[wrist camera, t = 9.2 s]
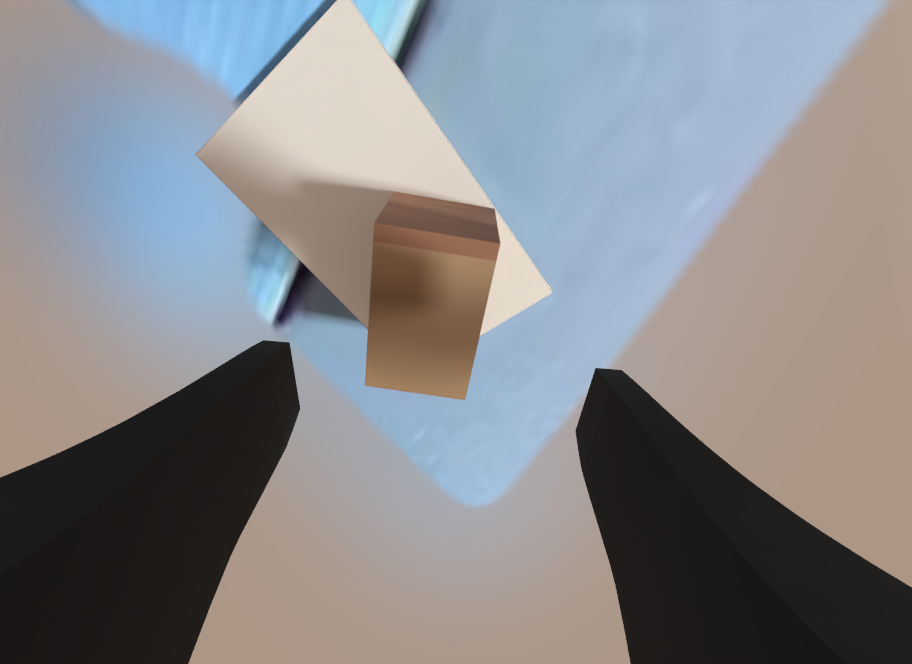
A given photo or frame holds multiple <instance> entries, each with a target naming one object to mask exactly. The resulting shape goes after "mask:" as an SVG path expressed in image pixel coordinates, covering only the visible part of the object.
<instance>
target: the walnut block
mask: <svg viewBox="0 0 912 664" xmlns="http://www.w3.org/2000/svg"><path fill="white" fill-rule="evenodd" d="M499 248H500V238H499V232H498V226H497V220H496V214H495V209H494V208H488V207H482V206H476V205H470V204H464V203H458V202H453V201H447V200H441V199H435V198H429V197H423V196H418V195H412V194H406V193H400V192H394V193H393V195H392V196H391V198H390V199H389V201H388V202H387V204H386V205H385V207H384V208H383V210H382V211H381V213H380V214H379V216H378V218H377V219H376V221H375V222H374V234H373V252H372V270H371V288H370V306H369V324H368V342H367V360H366V378H365V386H371V387H378V388H385V389H392V390H399V391H406V392H413V393H420V394H427V395H434V396H441V397H447V398H454V399H461V400H465V398H466V393H467V389H468V385H469V380H470V376H471V371H472V367H473V362H474V358H475V354H476V349H477V345H478V340H479V336H480V332H481V327H482V323H483V318H484V314H485V310H486V305H487V301H488V296H489V292H490V287H491V283H492V279H493V274H494V270H495V265H496V261H497V257H498V252H499Z"/></svg>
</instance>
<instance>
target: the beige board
mask: <svg viewBox="0 0 912 664" xmlns="http://www.w3.org/2000/svg"><path fill="white" fill-rule="evenodd" d="M196 156H198V158H199V159H200V160H201V161H202V162H203V163H204V164H205V165H206V166H207V167H208V168H209V169H210V170H211V171H212V172H213V173H214V174H215V175H216V176H217V177H218V178H219V179H220V180H221V181H222V182H223V183H224V184H225V185H226V186H227V187H228V188H229V189H230V190H231V191H232V192H233V193H234V194H235V195H236V196H237V197H238V198H239V199H240V200H241V201H242V202H243V203H244V204H245V205H246V206H247V207H248V208H249V209H250V210H251V211H252V212H253V213H254V214H255V215H256V216H257V217H258V218H259V219H260V220H261V221H262V222H263V223H264V224H265V225H266V226H267V227H268V228H269V229H270V230H271V231H272V232H273V233H274V235H275V236H276V237H277V238H278V239H279V240H280V241H281V242H282V243H283V244H284V245H285V246H286V247H287V248H288V249H289V250H290V251H291V252H292V253H293V254H294V255H295V256H296V257H297V258H298V259H299V260H300V261H301V262H302V263H303V264H304V265H305V266H306V267H307V268H308V269H309V270H310V271H311V272H312V273H313V274H314V275H315V276H316V277H317V278H318V279H319V280H320V281H321V282H322V283H323V284H324V285H325V286H326V287H327V288H328V289H329V290H330V291H331V292H332V293H333V294H334V295H335V296H336V297H337V298H338V299H339V300H340V301H341V302H342V303H343V304H344V305H345V306H346V307H347V308H348V309H349V310H350V311H351V312H352V313H353V314H354V315H355V316H356V317H357V318H358V319H359V320H360V321H361V322H362V323H363V324H364V325H365V326H366V327H367V328H368V324H369V306H370V288H371V270H372V252H373V234H374V222H375V221H376V219H377V218H378V216H379V214H380V213H381V211H382V210H383V208H384V207H385V205H386V204H387V202H388V201H389V199H390V198H391V196H392V195H393V193H394V192H400V193H406V194H412V195H418V196H423V197H429V198H435V199H441V200H447V201H453V202H458V203H464V204H470V205H476V206H482V207H488V208H494V209H495V214H496V220H497V226H498V232H499V238H500V248H499V252H498V257H497V261H496V265H495V270H494V274H493V279H492V283H491V287H490V292H489V296H488V301H487V305H486V310H485V314H484V318H483V323H482V327H481V332H480V336H481V335H482V334H484V333H486V332H487V331H489V330H491V329H492V328H494V327H496V326H497V325H499V324H501V323H502V322H504V321H506V320H507V319H509V318H511V317H512V316H514V315H516V314H517V313H519V312H521V311H522V310H524V309H526V308H527V307H529V306H531V305H532V304H534V303H536V302H537V301H539V300H541V299H542V298H544V297H546V296H547V295H549V294H551V293H552V290H551V288H550V286H549V285H548V283H547V282H546V280H545V279H544V277H543V276H542V275H541V273H540V272H539V270H538V269H537V267H536V266H535V264H534V263H533V262H532V260H531V259H530V257H529V256H528V254H527V253H526V251H525V250H524V249H523V247H522V246H521V244H520V243H519V241H518V240H517V238H516V237H515V235H514V234H513V233H512V231H511V230H510V228H509V227H508V225H507V224H506V222H505V221H504V220H503V218H502V217H501V215H500V214H499V212H498V211H497V209H496V208H495V207H494V205H493V204H492V202H491V201H490V199H489V198H488V196H487V195H486V194H485V192H484V191H483V189H482V188H481V186H480V185H479V183H478V182H477V180H476V179H475V178H474V176H473V175H472V173H471V172H470V170H469V169H468V167H467V166H466V165H465V163H464V162H463V160H462V159H461V157H460V156H459V154H458V153H457V152H456V150H455V149H454V147H453V146H452V144H451V143H450V141H449V140H448V138H447V137H446V136H445V134H444V133H443V131H442V130H441V128H440V127H439V125H438V124H437V123H436V121H435V120H434V118H433V117H432V115H431V114H430V112H429V111H428V110H427V108H426V107H425V105H424V104H423V102H422V101H421V99H420V98H419V96H418V95H417V94H416V92H415V91H414V89H413V88H412V86H411V85H410V83H409V82H408V81H407V79H406V78H405V76H404V75H403V73H402V72H401V70H400V69H399V68H398V66H397V65H396V63H395V62H394V60H393V59H392V57H391V56H390V55H389V53H388V52H387V50H386V49H385V47H384V46H383V44H382V43H381V41H380V40H379V39H378V37H377V36H376V34H375V33H374V31H373V30H372V28H371V27H370V26H369V24H368V23H367V21H366V20H365V18H364V17H363V15H362V14H361V13H360V11H359V10H358V8H357V7H356V5H355V4H354V2H353V1H352V0H337V1H336V2H335V3H334V4H333V5H332V6H331V7H330V8H329V9H328V11H327V12H326V13H325V14H324V15H323V16H322V17H321V18H320V19H319V20H318V21H317V23H316V24H315V25H314V26H313V27H312V28H311V29H310V30H309V31H308V32H307V33H306V35H305V36H304V37H303V38H302V39H301V40H300V41H299V42H298V43H297V44H296V45H295V47H294V48H293V49H292V50H291V51H290V52H289V53H288V54H287V55H286V56H285V57H284V59H283V60H282V61H281V62H280V63H279V64H278V65H277V66H276V67H275V68H274V69H273V71H272V72H271V73H270V74H269V75H268V76H267V77H266V78H265V79H264V80H263V81H262V83H261V84H260V85H259V86H258V87H257V88H256V89H255V90H254V91H253V92H252V93H251V95H250V96H249V97H248V98H247V99H246V100H245V101H244V102H243V103H242V104H241V105H240V107H239V108H238V109H237V110H236V111H235V112H234V113H233V114H232V115H231V116H230V117H229V119H228V120H227V121H226V122H225V123H224V124H223V125H222V126H221V127H220V128H219V130H218V131H217V132H216V133H215V134H214V135H213V136H212V137H211V138H210V139H209V140H208V141H207V143H206V144H205V145H204V146H203V147H202V148H201V149H200V150H199V151H198V152H197V153H196Z"/></svg>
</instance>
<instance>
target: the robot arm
mask: <svg viewBox="0 0 912 664" xmlns="http://www.w3.org/2000/svg"><path fill="white" fill-rule="evenodd" d="M299 410H300V405H299V399H298V392H297V386H296V380H295V374H294V368H293V362H292V355H291V349H290V343H288V342H275V341H261V342H260V343H258V344H256V345H254V346H252V347H250V348H249V349H247V350H246V351H244V352H242V353H240V354H239V355H237V356H236V357H234V358H232V359H231V360H229V361H228V362H226V363H224V364H222V365H221V366H219V367H218V368H216V369H214V370H213V371H211V372H209V373H208V374H206V375H204V376H203V377H201V378H200V379H198V380H196V381H195V382H193V383H191V384H190V385H188V386H186V387H185V388H183V389H181V390H180V391H178V392H176V393H174V394H172V395H171V396H169V397H167V398H165V399H164V400H162V401H160V402H158V403H156V404H155V405H153V406H151V407H149V408H147V409H146V410H144V411H142V412H140V413H139V414H137V415H135V416H133V417H131V418H129V419H128V420H126V421H124V422H122V423H120V424H118V425H116V426H114V427H112V428H110V429H108V430H106V431H104V432H102V433H100V434H98V435H96V436H94V437H92V438H90V439H88V440H85V441H83V442H81V443H79V444H77V445H75V446H73V447H71V448H69V449H66V450H64V451H62V452H60V453H58V454H56V455H53V456H51V457H49V458H47V459H44V460H42V461H39V462H37V463H34V464H32V465H30V466H27V467H25V468H23V469H20V470H18V471H15V472H13V473H10V474H8V475H6V476H3V477H1V478H0V664H188V663H189V660H190V658H191V655H192V652H193V650H194V647H195V644H196V642H197V639H198V637H199V634H200V631H201V629H202V626H203V623H204V621H205V618H206V616H207V613H208V610H209V608H210V605H211V603H212V600H213V597H214V595H215V593H216V590H217V588H218V585H219V583H220V581H221V578H222V576H223V573H224V571H225V568H226V566H227V563H228V561H229V558H230V556H231V554H232V552H233V550H234V548H235V545H236V543H237V541H238V539H239V537H240V535H241V533H242V531H243V529H244V527H245V525H246V524H247V521H248V520H249V518H250V516H251V514H252V512H253V510H254V508H255V506H256V504H257V503H258V501H259V499H260V497H261V495H262V493H263V491H264V489H265V487H266V485H267V483H268V481H269V479H270V478H271V476H272V474H273V472H274V470H275V468H276V466H277V464H278V462H279V460H280V458H281V456H282V454H283V452H284V450H285V448H286V446H287V444H288V441H289V438H290V435H291V433H292V430H293V428H294V425H295V422H296V419H297V416H298V413H299ZM576 437H577V443H578V451H579V457H580V462H581V468H582V472H583V476H584V479H585V483H586V486H587V490H588V493H589V496H590V500H591V503H592V506H593V510H594V513H595V516H596V519H597V523H598V526H599V529H600V533H601V536H602V539H603V543H604V546H605V549H606V552H607V555H608V559H609V562H610V566H611V569H612V574H613V577H614V581H615V585H616V589H617V594H618V600H619V605H620V610H621V615H622V619H623V624H624V630H625V634H626V640H627V645H628V651H629V657H630V662H631V664H912V587H910V586H908V585H906V584H905V583H903V582H902V581H900V580H898V579H897V578H894V577H893V576H891V575H890V574H888V573H886V572H885V571H883V570H882V569H880V568H878V567H877V566H875V565H873V564H872V563H870V562H868V561H867V560H865V559H864V558H862V557H861V556H859V555H857V554H856V553H854V552H852V551H851V550H850V549H848V548H846V547H845V546H843V545H842V544H840V543H839V542H837V541H835V540H834V539H832V538H831V537H829V536H828V535H826V534H825V533H823V532H821V531H820V530H818V529H817V528H815V527H814V526H812V525H811V524H810V523H808V522H807V521H805V520H804V519H802V518H800V517H799V516H798V515H796V514H795V513H793V512H792V511H791V510H789V509H788V508H786V507H785V506H784V505H782V504H781V503H779V502H778V501H777V500H775V499H774V498H773V497H771V496H770V495H768V494H767V493H766V492H764V491H763V490H761V489H760V488H759V487H757V486H756V485H755V484H753V483H752V482H751V481H749V480H748V479H747V478H746V477H744V476H743V475H742V474H740V473H739V472H738V471H737V470H735V469H734V468H733V467H732V466H730V465H729V464H728V463H727V462H726V461H724V460H723V459H722V458H720V457H719V456H718V455H717V454H716V453H714V452H713V451H712V450H711V449H710V448H708V447H707V446H706V445H705V444H704V443H703V442H701V441H700V440H699V439H698V438H697V437H696V436H694V435H693V434H692V433H691V432H690V431H689V430H688V429H686V428H685V427H684V426H683V425H682V424H681V423H680V422H679V421H677V420H676V419H675V418H674V417H673V416H672V415H671V414H670V413H669V412H667V411H666V410H665V409H664V408H663V407H662V406H661V405H660V404H659V403H658V402H657V401H656V400H654V399H653V398H652V397H651V396H650V395H649V394H648V393H647V392H646V391H645V390H644V389H642V388H641V387H640V386H639V385H638V384H637V383H636V382H635V381H634V380H633V379H631V378H630V377H629V376H628V375H627V374H625V373H624V372H623V371H622V370H612V369H600V368H596V369H595V372H594V375H593V378H592V381H591V384H590V388H589V391H588V394H587V397H586V400H585V403H584V406H583V409H582V412H581V416H580V419H579V422H578V425H577V428H576Z"/></svg>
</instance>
